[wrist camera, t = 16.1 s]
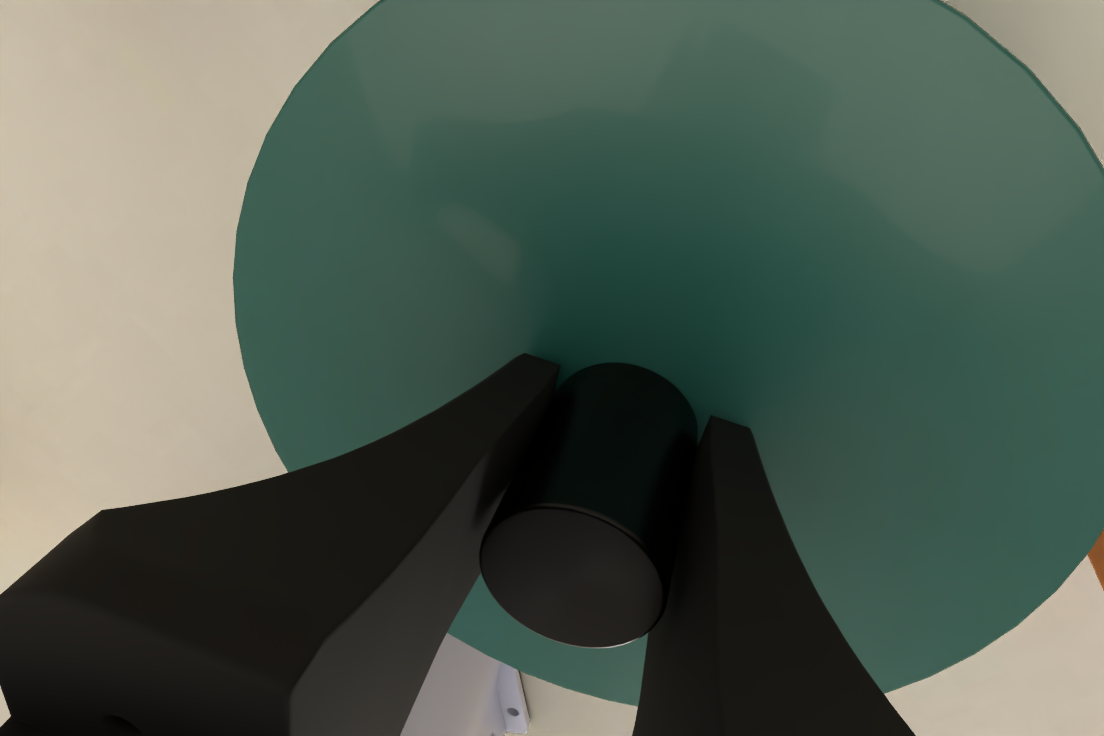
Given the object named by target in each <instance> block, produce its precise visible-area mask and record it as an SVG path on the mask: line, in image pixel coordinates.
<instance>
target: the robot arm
mask: <svg viewBox="0 0 1104 736" xmlns="http://www.w3.org/2000/svg"><path fill="white" fill-rule="evenodd" d="M560 367H561V365H560V364H557V363H554V362H551V361H548V360H545V359H542V358H539V357H536V356H533V355H530V354H527V353H523V354H521V355H519V356H516V357H515V358H514V359H512V360H511V361H510V362H508V363H507V364H505V365H504V366H503V367H501V368H500V369H499V370H497V371H496V372H494V373H493V374H491V375H490V376H488V377H487V378H485V379H484V380H482V381H481V382H479V383H478V384H476V385H475V386H473V387H472V388H470V389H469V390H467V391H466V392H464V393H462V394H461V395H459V396H457V397H456V398H454V399H453V400H451V401H449V402H448V403H446V404H444V405H443V406H441V407H439V408H438V409H436V410H434V411H432V412H431V413H429V414H427V415H425V416H423V417H421V418H419V419H417V420H416V421H414V422H412V423H410V424H408V425H406V426H404V427H402V428H401V429H399V430H397V431H395V432H393V433H391V434H388V435H386V436H384V437H382V438H380V439H378V440H376V441H373V442H371V443H369V444H367V445H364V446H362V447H360V448H357V449H355V450H352V451H350V452H348V453H345V454H343V455H340V456H338V457H335V458H332V459H329V460H326V461H323V462H320V463H317V464H314V465H310V466H307V467H304V468H301V469H298V470H295V471H292V472H289V473H286V474H283V475H280V476H276V477H272V478H269V479H265V480H261V481H257V482H253V483H249V484H245V485H242V486H237V487H233V488H228V489H224V490H219V491H215V492H210V493H206V494H201V495H195V496H190V497H185V498H179V499H173V500H166V501H160V502H154V503H147V504H141V505H135V506H129V507H122V508H115V509H107V510H101V511H100V512H99V513H97V514H96V515H95V516H93V517H92V518H91V519H90V520H88V521H87V522H86V523H84V524H83V525H82V526H80V527H79V528H78V529H76V530H75V531H74V532H72V533H71V534H70V535H68V536H67V537H66V538H65V539H64V540H63V541H62V542H60V543H59V544H58V545H57V546H56V547H55V548H54V549H52V550H51V551H50V552H49V553H48V554H47V555H46V556H44V557H43V558H42V559H41V560H40V561H39V562H38V563H36V564H35V565H34V566H33V567H32V568H31V569H30V570H28V571H27V572H26V573H25V574H24V575H23V576H21V577H20V578H19V579H18V580H17V581H16V582H15V583H13V584H12V585H11V586H10V587H9V588H8V589H6V590H5V591H4V592H3V593H2V594H1V595H0V686H1V689H2V692H3V694H4V697H5V700H6V703H7V706H8V709H9V711H10V714H11V717H10V718H9V719H8V720H7V721H6V722H5V723H4V724H3V725H2V726H1V727H0V736H504V735H505V732H511V733H517V734H523V733H526V732H527V731H528V728H529V725H530V720H529V715H528V711H527V706H526V702H525V697H524V693H523V689H522V684H521V680H520V675H519V671H518V670H517V669H515V668H513V667H511V666H509V665H506V664H504V663H502V662H500V661H498V660H496V659H493V658H491V657H489V656H487V655H485V654H483V653H482V652H480V651H478V650H476V649H474V648H473V647H471V646H469V645H467V644H466V643H464V642H462V641H460V640H459V639H457V638H455V637H453V636H452V635H450V634H448V633H447V632H448V630H449V628H450V626H451V624H452V622H453V620H454V619H455V617H456V615H457V613H458V612H459V610H460V608H461V606H462V605H463V603H464V601H465V599H466V598H467V596H468V594H469V592H470V591H471V589H472V587H473V586H474V584H475V582H476V580H477V579H478V577H479V575H480V573H481V570H480V564H479V550H480V544H481V541H482V538H483V536H484V533H485V531H486V530H487V528H488V526H489V524H490V522H491V520H492V518H493V516H494V514H495V512H496V510H497V508H498V506H499V504H500V502H501V500H502V498H503V496H504V494H505V492H506V490H507V488H508V486H509V484H510V482H511V480H512V478H513V476H514V474H515V472H516V470H517V468H518V466H519V464H520V462H521V460H522V458H523V456H524V454H525V452H526V450H527V448H528V446H529V444H530V443H531V441H532V439H533V437H534V435H535V433H536V431H537V429H538V427H539V425H540V423H541V421H542V419H543V417H544V415H545V413H546V411H547V409H548V407H549V405H550V403H551V401H552V398H553V395H554V391H555V387H556V383H557V379H558V375H559V371H560ZM632 736H916V735H915V734H914V733H913V732H912V730H911V729H910V728H909V726H908V725H907V724H906V723H905V721H904V720H903V719H902V718H901V716H900V715H899V714H898V712H897V711H896V710H895V709H894V707H893V706H892V705H891V703H890V702H889V701H888V699H887V698H886V696H885V695H884V694H883V692H882V691H881V690H880V688H879V687H878V685H877V684H876V683H875V681H874V680H873V678H872V677H871V676H870V674H869V673H868V672H867V670H866V669H865V667H864V666H863V665H862V663H861V662H860V660H859V659H858V657H857V656H856V654H855V653H854V651H853V650H852V648H851V647H850V645H849V644H848V642H847V641H846V639H845V638H844V636H843V634H842V633H841V631H840V629H839V628H838V626H837V624H836V623H835V621H834V619H833V618H832V616H831V614H830V613H829V611H828V610H827V608H826V606H825V605H824V603H823V601H822V599H821V598H820V596H819V594H818V592H817V590H816V588H815V586H814V584H813V582H812V580H811V578H810V576H809V574H808V572H807V570H806V568H805V566H804V564H803V562H802V560H801V558H800V556H799V554H798V552H797V550H796V547H795V545H794V543H793V541H792V539H791V536H790V534H789V532H788V529H787V527H786V524H785V522H784V520H783V517H782V515H781V512H780V510H779V508H778V505H777V503H776V500H775V497H774V495H773V492H772V490H771V487H770V484H769V481H768V478H767V475H766V473H765V470H764V467H763V464H762V461H761V458H760V455H759V451H758V448H757V445H756V442H755V438H754V435H753V433H752V431H751V429H750V428H748V427H745V426H742V425H739V424H736V423H733V422H730V421H728V420H725V419H722V418H719V417H716V416H713V415H710V418H709V420H708V423H707V425H706V427H705V430H704V432H703V435H702V437H701V440H700V442H699V444H698V447H697V449H696V453H695V458H694V464H693V469H692V474H691V479H690V485H689V490H688V495H687V500H686V506H685V511H684V516H683V521H682V527H681V532H680V537H679V542H678V548H677V553H676V558H675V563H674V569H673V574H672V579H671V584H670V590H669V595H668V600H667V605H666V609H665V611H664V614H663V616H662V617H661V619H660V620H659V622H658V623H657V624H656V626H655V627H654V628H653V629H652V630H651V631H650V632H648V638H647V646H646V654H645V661H644V669H643V677H642V684H641V692H640V698H639V704H638V710H637V715H636V721H635V726H634V730H633V735H632Z"/></svg>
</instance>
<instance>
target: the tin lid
mask: <svg viewBox="0 0 1104 736" xmlns="http://www.w3.org/2000/svg"><path fill="white" fill-rule="evenodd" d="M233 285H234V302H235V319H236V327H237V333H238V338H239V343H240V349H241V354H242V359H243V365H244V369H245V372H246V375H247V378H248V382H249V385H250V388H251V391H252V394H253V397H254V401H255V404H256V407H257V410H258V412H259V414H260V417H261V419H262V421H263V423H264V426H265V428H266V430H267V432H268V435H269V437H270V439H271V441H272V444H273V446H274V448H275V450H276V452H277V454H278V455H279V457H280V459H281V461H282V462H283V464H284V466H285V468H286V469H287V471H288V473H289V472H292V471H295V470H298V469H301V468H304V467H307V466H310V465H314V464H317V463H320V462H323V461H326V460H329V459H332V458H335V457H338V456H340V455H343V454H345V453H348V452H350V451H352V450H355V449H357V448H360V447H362V446H364V445H367V444H369V443H371V442H373V441H376V440H378V439H380V438H382V437H384V436H386V435H388V434H391V433H393V432H395V431H397V430H399V429H401V428H402V427H404V426H406V425H408V424H410V423H412V422H414V421H416V420H417V419H419V418H421V417H423V416H425V415H427V414H429V413H431V412H432V411H434V410H436V409H438V408H439V407H441V406H443V405H444V404H446V403H448V402H449V401H451V400H453V399H454V398H456V397H457V396H459V395H461V394H462V393H464V392H466V391H467V390H469V389H470V388H472V387H473V386H475V385H476V384H478V383H479V382H481V381H482V380H484V379H485V378H487V377H488V376H490V375H491V374H493V373H494V372H496V371H497V370H499V369H500V368H501V367H503V366H504V365H505V364H507V363H508V362H510V361H511V360H512V359H514V358H515V357H516V356H519V355H521V354H523V353H527V354H530V355H533V356H536V357H539V358H542V359H545V360H548V361H551V362H554V363H557V364H560V365H561V367H560V371H559V375H558V379H557V383H556V387H555V391H554V395H553V398H552V401H551V403H550V405H549V407H548V409H547V411H546V413H545V415H544V417H543V419H542V421H541V423H540V425H539V427H538V429H537V431H536V433H535V435H534V437H533V439H532V441H531V443H530V444H529V446H528V448H527V450H526V452H525V454H524V456H523V458H522V460H521V462H520V464H519V466H518V468H517V470H516V472H515V474H514V476H513V478H512V480H511V482H510V484H509V486H508V488H507V490H506V492H505V494H504V496H503V498H502V500H501V502H500V504H499V506H498V508H497V510H496V512H495V514H494V516H493V518H492V520H491V522H490V524H489V526H488V528H487V530H486V531H485V533H484V536H483V538H482V541H481V544H480V550H479V564H480V570H481V573H480V575H479V577H478V579H477V580H476V582H475V584H474V586H473V587H472V589H471V591H470V592H469V594H468V596H467V598H466V599H465V601H464V603H463V605H462V606H461V608H460V610H459V612H458V613H457V615H456V617H455V619H454V620H453V622H452V624H451V626H450V628H449V630H448V632H447V633H448V634H450V635H452V636H453V637H455V638H457V639H459V640H460V641H462V642H464V643H466V644H467V645H469V646H471V647H473V648H474V649H476V650H478V651H480V652H482V653H483V654H485V655H487V656H489V657H491V658H493V659H496V660H498V661H500V662H502V663H504V664H506V665H509V666H511V667H513V668H515V669H517V670H519V671H521V672H524V673H526V674H528V675H531V676H534V677H537V678H539V679H542V680H545V681H547V682H550V683H553V684H555V685H558V686H561V687H563V688H566V689H570V690H573V691H577V692H580V693H584V694H587V695H591V696H594V697H598V698H601V699H605V700H608V701H613V702H618V703H623V704H628V705H633V706H638V704H639V698H640V692H641V684H642V677H643V669H644V661H645V654H646V646H647V638H648V632H650V631H651V630H652V629H653V628H654V627H655V626H656V624H657V623H658V622H659V620H660V619H661V617H662V616H663V614H664V611H665V609H666V605H667V600H668V595H669V590H670V584H671V579H672V574H673V569H674V563H675V558H676V553H677V548H678V542H679V537H680V532H681V527H682V521H683V516H684V511H685V506H686V500H687V495H688V490H689V485H690V479H691V474H692V469H693V464H694V458H695V453H696V449H697V447H698V444H699V442H700V440H701V437H702V435H703V432H704V430H705V427H706V425H707V423H708V420H709V418H710V415H713V416H716V417H719V418H722V419H725V420H728V421H730V422H733V423H736V424H739V425H742V426H745V427H748V428H750V429H751V431H752V433H753V435H754V438H755V442H756V445H757V448H758V451H759V455H760V458H761V461H762V464H763V467H764V470H765V473H766V475H767V478H768V481H769V484H770V487H771V490H772V492H773V495H774V497H775V500H776V503H777V505H778V508H779V510H780V512H781V515H782V517H783V520H784V522H785V524H786V527H787V529H788V532H789V534H790V536H791V539H792V541H793V543H794V545H795V547H796V550H797V552H798V554H799V556H800V558H801V560H802V562H803V564H804V566H805V568H806V570H807V572H808V574H809V576H810V578H811V580H812V582H813V584H814V586H815V588H816V590H817V592H818V594H819V596H820V598H821V599H822V601H823V603H824V605H825V606H826V608H827V610H828V611H829V613H830V614H831V616H832V618H833V619H834V621H835V623H836V624H837V626H838V628H839V629H840V631H841V633H842V634H843V636H844V638H845V639H846V641H847V642H848V644H849V645H850V647H851V648H852V650H853V651H854V653H855V654H856V656H857V657H858V659H859V660H860V662H861V663H862V665H863V666H864V667H865V669H866V670H867V672H868V673H869V674H870V676H871V677H872V678H873V680H874V681H875V683H876V684H877V685H878V687H879V688H880V690H881V691H882V692H883V694H885V693H888V692H890V691H893V690H896V689H898V688H901V687H904V686H906V685H909V684H912V683H914V682H917V681H920V680H923V679H925V678H928V677H930V676H932V675H934V674H936V673H938V672H940V671H942V670H944V669H946V668H948V667H950V666H952V665H954V664H956V663H958V662H960V661H962V660H964V659H966V658H968V657H970V656H972V655H974V654H976V653H977V652H979V651H980V650H982V649H983V648H985V647H986V646H988V645H989V644H990V643H992V642H993V641H995V640H996V639H998V638H999V637H1001V636H1002V635H1004V634H1005V633H1007V632H1008V631H1010V630H1011V629H1013V628H1014V627H1016V626H1017V625H1018V624H1020V623H1021V622H1022V621H1023V620H1024V619H1025V618H1026V617H1027V616H1029V615H1030V614H1031V613H1032V612H1033V611H1034V610H1035V609H1036V608H1038V607H1039V606H1040V605H1041V604H1042V603H1043V602H1044V601H1046V600H1047V599H1048V598H1049V597H1050V596H1051V595H1052V594H1053V593H1055V592H1056V591H1057V590H1058V588H1059V587H1060V586H1061V585H1062V584H1063V582H1064V581H1065V580H1066V579H1067V578H1068V577H1069V575H1070V574H1071V573H1072V572H1073V571H1074V569H1075V568H1076V567H1077V566H1078V565H1079V564H1080V562H1081V561H1082V560H1083V559H1084V558H1085V556H1086V555H1087V554H1088V553H1089V552H1090V550H1091V549H1092V548H1093V546H1094V544H1095V543H1096V541H1097V539H1098V538H1099V536H1100V534H1101V533H1102V531H1103V529H1104V168H1103V166H1102V164H1101V162H1100V161H1099V159H1098V157H1097V156H1096V154H1095V152H1094V151H1093V149H1092V147H1091V146H1090V144H1089V142H1088V140H1087V139H1086V137H1085V135H1084V134H1083V132H1082V130H1081V129H1080V127H1079V126H1078V125H1077V124H1076V123H1075V121H1074V120H1073V119H1072V118H1071V117H1070V116H1069V114H1068V113H1067V112H1066V111H1065V110H1064V108H1063V107H1062V106H1061V105H1060V104H1059V103H1058V101H1057V100H1056V99H1055V98H1054V97H1053V96H1052V94H1051V93H1050V92H1049V91H1048V90H1047V89H1046V87H1045V86H1044V85H1043V84H1042V83H1041V82H1040V80H1039V79H1038V78H1037V77H1036V76H1035V75H1034V73H1033V72H1032V71H1031V70H1030V69H1029V68H1028V67H1027V66H1026V65H1025V64H1024V63H1022V62H1021V61H1020V60H1019V59H1018V58H1016V57H1015V56H1014V55H1013V54H1012V53H1010V52H1009V51H1008V50H1007V49H1006V48H1004V47H1003V46H1002V45H1001V44H1000V43H998V42H997V41H996V40H995V39H994V38H992V37H991V36H990V35H989V34H988V33H986V32H985V31H984V30H983V29H982V28H980V27H979V26H978V25H977V24H976V23H974V22H973V21H972V20H971V19H970V18H968V17H967V16H966V15H965V14H963V13H962V12H960V11H958V10H957V9H955V8H953V7H952V6H950V5H948V4H946V3H945V2H943V1H941V0H380V1H378V2H377V3H376V4H375V5H373V6H372V7H371V8H370V9H369V10H368V11H367V12H365V13H364V14H363V15H362V16H361V17H360V18H359V19H357V20H356V21H355V22H354V23H353V24H352V25H350V26H349V27H348V28H347V29H346V30H345V31H344V32H342V33H341V34H340V35H339V36H338V37H337V38H336V39H334V40H333V41H332V42H331V43H330V44H329V46H328V47H327V48H326V49H325V50H324V52H323V53H322V54H321V55H320V56H319V58H318V59H317V60H316V61H315V62H314V64H313V65H312V66H311V67H310V69H309V70H308V71H307V72H306V73H305V75H304V76H303V77H302V78H301V79H300V81H299V82H298V83H297V84H296V85H295V87H294V88H293V90H292V92H291V93H290V95H289V97H288V99H287V100H286V102H285V104H284V105H283V107H282V109H281V110H280V112H279V114H278V116H277V117H276V119H275V121H274V122H273V124H272V126H271V127H270V129H269V131H268V133H267V135H266V137H265V140H264V142H263V145H262V147H261V150H260V152H259V155H258V157H257V160H256V162H255V165H254V168H253V170H252V173H251V175H250V178H249V180H248V183H247V188H246V192H245V196H244V201H243V205H242V210H241V214H240V218H239V223H238V227H237V234H236V247H235V260H234V272H233Z"/></svg>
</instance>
